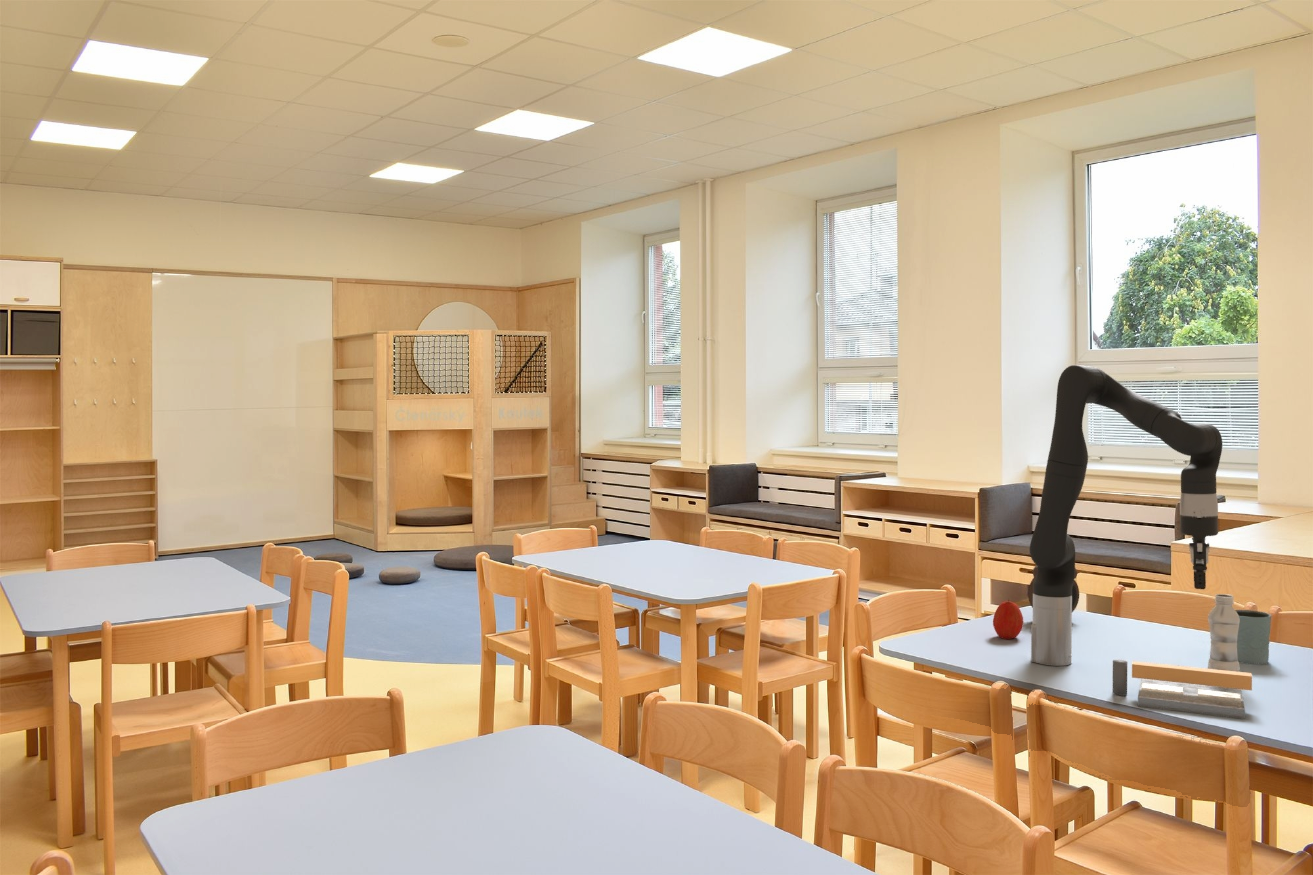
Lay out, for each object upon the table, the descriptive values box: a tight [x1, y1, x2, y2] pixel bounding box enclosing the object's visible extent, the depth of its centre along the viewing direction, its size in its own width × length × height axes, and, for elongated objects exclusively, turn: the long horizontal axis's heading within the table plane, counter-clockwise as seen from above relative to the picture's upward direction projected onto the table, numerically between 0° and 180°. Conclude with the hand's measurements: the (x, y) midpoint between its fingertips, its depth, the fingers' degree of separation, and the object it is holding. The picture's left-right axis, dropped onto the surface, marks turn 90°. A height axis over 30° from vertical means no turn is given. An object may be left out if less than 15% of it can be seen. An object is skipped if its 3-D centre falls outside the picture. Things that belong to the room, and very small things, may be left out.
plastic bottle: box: [1207, 593, 1241, 672], centre depth 239 cm, size 6×7×20 cm
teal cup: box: [1235, 609, 1272, 665], centre depth 258 cm, size 10×10×12 cm
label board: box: [1137, 678, 1246, 720], centre depth 221 cm, size 20×16×2 cm
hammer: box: [1112, 659, 1253, 696], centre depth 222 cm, size 27×3×7 cm, turn 62°
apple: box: [992, 599, 1024, 640], centre depth 284 cm, size 8×8×11 cm
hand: (1199, 585), depth 227 cm, fingers open, 8 cm apart
